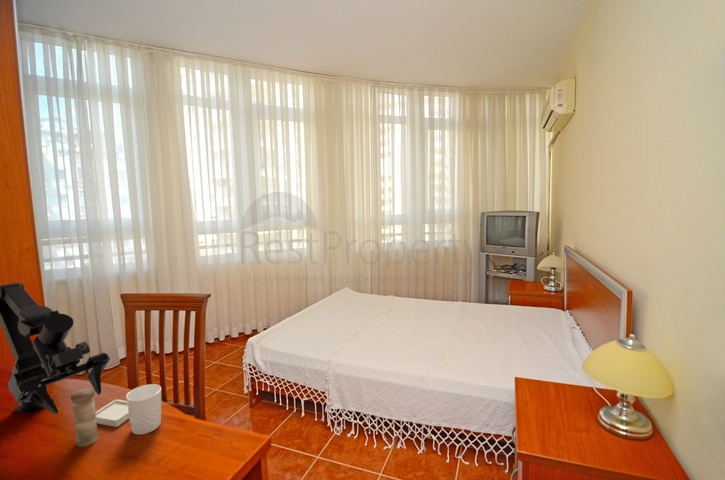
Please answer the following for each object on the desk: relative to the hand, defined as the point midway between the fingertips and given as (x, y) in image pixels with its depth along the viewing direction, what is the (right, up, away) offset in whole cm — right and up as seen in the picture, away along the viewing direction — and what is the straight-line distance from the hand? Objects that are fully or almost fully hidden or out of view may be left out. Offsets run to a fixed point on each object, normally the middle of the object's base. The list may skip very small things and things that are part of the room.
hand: (79, 403), depth 87 cm
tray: (+2, -8, +10) cm, 13 cm away
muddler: (+2, -10, 0) cm, 10 cm away
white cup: (+13, -9, +6) cm, 17 cm away
